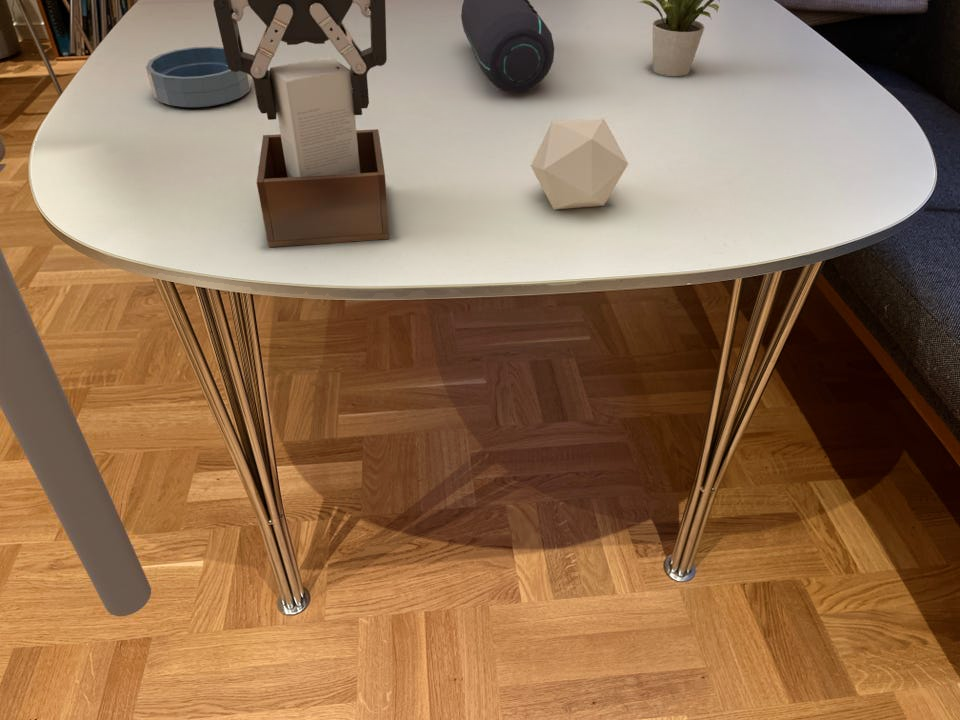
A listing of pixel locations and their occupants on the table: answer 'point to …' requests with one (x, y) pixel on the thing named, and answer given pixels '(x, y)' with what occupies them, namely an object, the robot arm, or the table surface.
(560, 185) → the die
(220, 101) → the bowl
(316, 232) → the holder
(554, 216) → the table surface
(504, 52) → the portable speaker
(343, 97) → the cosmetic box
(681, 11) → the house plant
